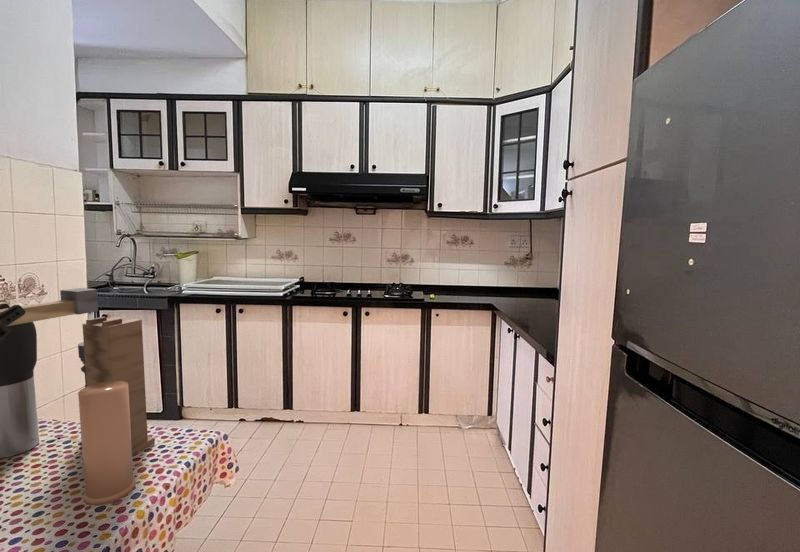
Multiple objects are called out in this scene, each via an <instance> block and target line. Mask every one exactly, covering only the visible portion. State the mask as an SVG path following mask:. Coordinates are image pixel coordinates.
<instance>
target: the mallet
mask: <svg viewBox="0 0 800 552" xmlns="http://www.w3.org/2000/svg"><path fill="white" fill-rule="evenodd" d="M59 293H60V294H59V295H60V300H54V301H49V302H41V303H34V304H27V305H26V304H25V305H20V306H21V307H22V308H23V309H24V310H25V314H24V315H23V316H21V317H20V318H18V319H17V320H15V321H14V322H12V323H11V324H9V325H8V326H11V325H17V324H22V323H28V322H33V323H34V322H38V321H44V320H50V319H56V318H61V317H67V316H72V315H84V314H88V313H96V312H99V307H98V290H97V289H96V288H88V287H87V288H86V287H76V288H75V287H74V288H67V289H60V290H59ZM7 309H8V308H5V309H0V314H1V313H2V312H4V311H5V310H7Z"/></svg>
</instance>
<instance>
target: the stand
mask: <svg viewBox="0 0 800 552" xmlns="http://www.w3.org/2000/svg"><path fill="white" fill-rule="evenodd" d="M85 322H86V323H82V336H83V338H82V339H83V342H84V355H85V370H86V385H87V386H90V385H93V384H97V383H102V382H108V381H124V382H127V383H128V390H129V408H130V426H131V444H132V458H133V457H134V456H136V455H137V454H139V453H141V452H143V451H144V450H146V449H148V448H150V447H151V446H153V445H155V444H156V443H155V442H156V441H155V437H153V436H148V421H147V419H148V418H147V417H148V416H147V401H146V399H147V396H146V381H145V379H146V377H145V357H144V356H145V355H144V339H143V320H142V319H138V318H130V317H119V316H114V317H110V318H107V316H100V317H95V318H90V319H86V320H85Z"/></svg>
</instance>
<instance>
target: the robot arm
mask: <svg viewBox="0 0 800 552" xmlns="http://www.w3.org/2000/svg"><path fill="white" fill-rule="evenodd" d="M21 306H22V305H20V304H13V305H11V306H10V305H9V304H8V303H5V302H4V303H2V302H1V303H0V309H5V308H8V309H7V310H5V311H4V312H2V313H1V314H0V459H1V458H3V459H4V458H8V457H13V456H17V455H19V454H22V453H25V452H27V451H29V450H31V449H33V448H35V447H36V446H38V444H39V443H40V435H39V422H38V410H37V408H38V407H37V400H36V399H37V398H36V388H35V387H36V386H35V374H34V370H35V367H36V365H37V360H38V345H37V344H38V341H37V340H38V337H37V328H36V325H35V323H34V322H28V323H22V324H17V325H11V326H8V325H9V324H11V323H12V322H14V321H15V320H17V319H18V318H20V317H21V316H23V315H24V314H25V310H24V309H23V308H22V307H21Z"/></svg>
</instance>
